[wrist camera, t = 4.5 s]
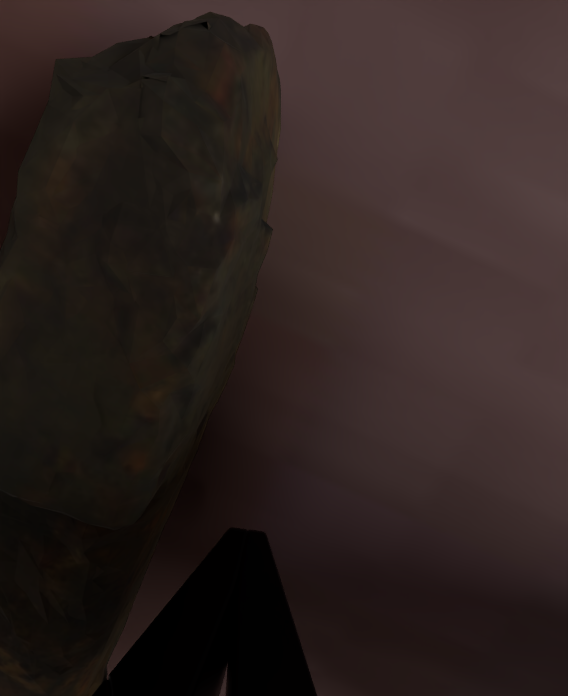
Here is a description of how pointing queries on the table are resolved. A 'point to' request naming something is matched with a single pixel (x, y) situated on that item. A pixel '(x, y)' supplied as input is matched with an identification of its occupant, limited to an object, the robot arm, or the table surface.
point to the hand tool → (121, 324)
